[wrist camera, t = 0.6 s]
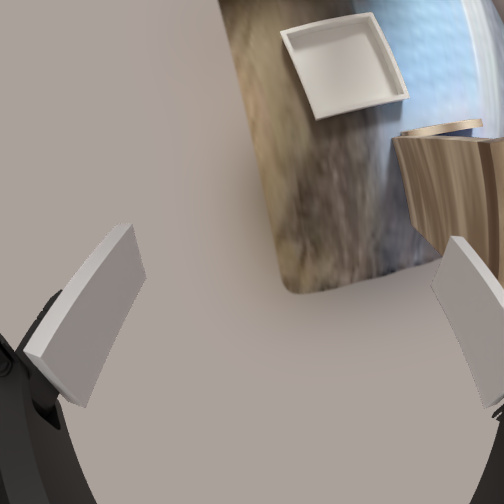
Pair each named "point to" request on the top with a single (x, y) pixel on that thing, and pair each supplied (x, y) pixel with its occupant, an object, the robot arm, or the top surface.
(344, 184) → the top surface
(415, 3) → the top surface
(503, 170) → the dock
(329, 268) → the top surface
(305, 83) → the tray
